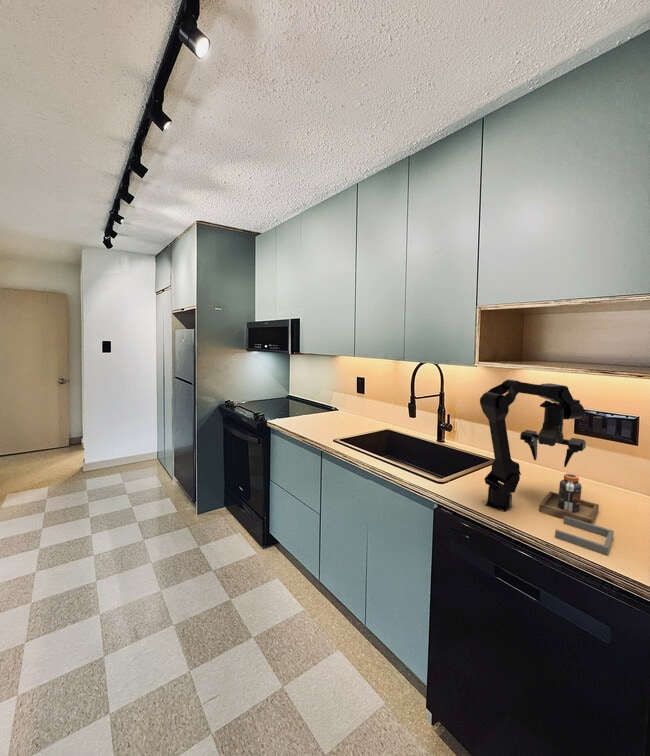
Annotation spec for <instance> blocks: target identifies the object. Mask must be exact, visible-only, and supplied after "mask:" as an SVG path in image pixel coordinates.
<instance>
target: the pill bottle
mask: <svg viewBox="0 0 650 756" xmlns="http://www.w3.org/2000/svg"><path fill="white" fill-rule="evenodd" d="M579 479H580V478H579V476H578V475H575V474H571V473H565V474H564V475H563V479H561V480H560V481H559V486H558V487H559V488H558V494H559V496H558V507H559V508H561V509H562V510H565V511H568V512H578V511H579V508H580V499H581V498H582V486H583V485H582V484H581V483H580V482H579Z"/></svg>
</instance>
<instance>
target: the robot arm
mask: <svg viewBox="0 0 650 756" xmlns="http://www.w3.org/2000/svg"><path fill="white" fill-rule="evenodd" d="M518 394H526V395H531V396H538V397H540V398H543V399H545V400H544V402H542V403H541V404H539V407H540V408H544V415H543V423H542V427H541V429H540V431H539V432H537V431H536V430H531V429H530V430H529V429H525V430H524V431H521V432H520V437H519V439H520V440H522V441H523V443H526V444H527V445H528V446H529V449H530V451H531V455H532V459H533V460H534V461H537V458H538V444H539V445H545V446H546V445H547V446H549V447H554V446H556V444H559V445H563V446H567V447H568V448H567V449H566V454H565V458H564V463H563V465H564V466H563V467H564V468H566V467H567V466H568V464H569V462H570V460H571V458H572V457H573V455H574V454H575V453H579V452H583V451H584V450H585V449H586V445H587V442H586V440H585V439H581V438H575V437H571V438H570V439H566V438H565V439H564V433H563V430H564V429H563V428H564V420H576V419H582V418H583V417H584V416H585V413H586V409H584V408H585V407H584V406H583V405H582V404H581V400H580V399H574V397H573V396H572V394H571V392H570V389H569V387H568V386H567V385H563V384H557V383H556V384H555V383H542V384H541V383H540V384H536V383H528V382H524V381H523V382H522V381H519V380H514V379H506V380H504V381H502V383H500V384H498V385H496V386H494V387H492V388H490V389H489V390H488V391H487V392H486V391H485V392H484V393H483V394H482V395H481V397H480V398H479V404H480V407H481V410H482V412H483V414H484V415H485V417H486V418H487V419H488V424H489V431H490V432H489V433H490V437H491V444H492V448H493V457H494V460H493V461H492V463H491V470H490V471H489V473H488V474H486V476H485V477H484V482H485V485H488V490H487V491H488V493H487V502H486V503H485V506H488V507H490V508H493V509H496V510H500V511H503V512H507V510H509V509H510V508H511V507H512V506H513V505H512V504H513V493H515V492H516V489H517V487H518V484H519V481H520V479H521V475H522V473H521V470H520V464H519V463H520V462H519V463H518V462H516V461H514V460H512V457H511V450H510V449H511V448H510V443H509V442H510V441H509V437H508V431H507V424H506V423H507V422H506V417H507V416H508V414H509V411H510V410H509V409H510V405H512V404H513V403H514V402H515V399H516V398H517V395H518Z"/></svg>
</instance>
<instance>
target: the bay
mask: <svg viewBox="0 0 650 756" xmlns="http://www.w3.org/2000/svg"><path fill="white" fill-rule="evenodd" d="M564 524H565V525H568V526H571V527H575V528H577V529H580V530H584V531H588V532H589V533H594V534H596V535H600V536H603V537H606V538H605V541H604V544H603V543H598V542H595V541H592V540H590V539H586V538H583V537H581V536H577V535H575V534H572V533H568V532H565V531H562V530H559V529H555V532H554V538H555V537H556V538H555V539H559V540H561V539H562V540H561V541H564V540H565V541H564V542H567V541H568V543H570V544H573V545H575V546H579V547H582V548H585V549H588V550H590V551H594V552H597V553H599V554H602V555H605V556H608V554H609V552H610V548H611V545H612V542H613V539H614V534H615V533H614V532H615V530H613V529H609V528H606V527H603V526H600V525H596V524H594V523H593V524H590V523H586V522H583V521H580V520H576V519H573V518H570V517H566V516H564V519H563V525H564Z"/></svg>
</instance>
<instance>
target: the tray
mask: <svg viewBox="0 0 650 756" xmlns="http://www.w3.org/2000/svg"><path fill="white" fill-rule="evenodd" d="M558 496H559V492H554V491H549V492H547V495H546V496H545V497H544V499H542V500H541V502H540V503H539V505H538V506H539V507H538V512H539V513H541V514H542V513H543V514H546V515H549V516H552V517H555V518H559V519H562V520H564V516H566V517H570V518H573V519H576V520H580V521H583V522H586V523H590V524H593V525H594V522H595V520H596V518H597V517H598V516H597V515H598V514H599V509H600V504H599V503H595V502H591V501H587V500H584V499H581V498H580V508H579V511H578V512H568V511H565V510H562V509H561V508H559V507H558Z"/></svg>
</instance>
